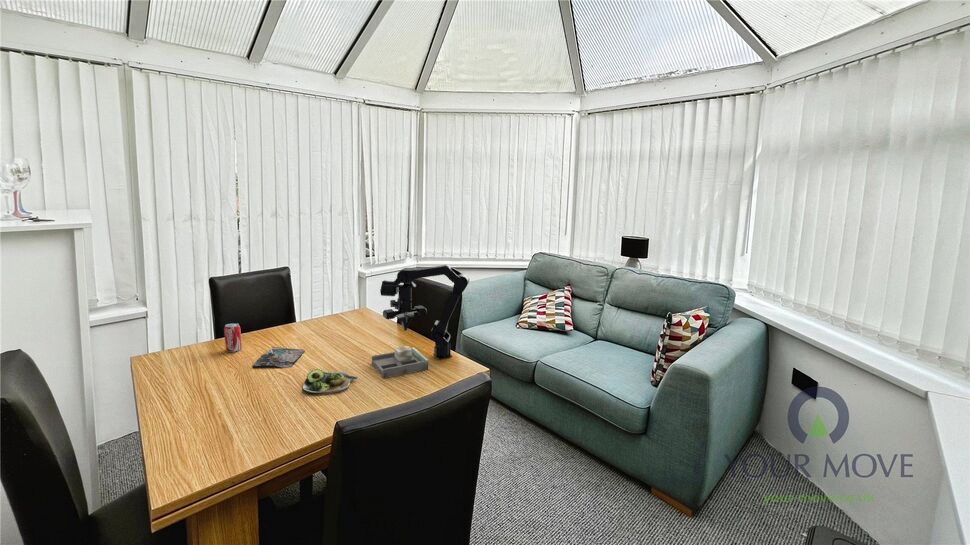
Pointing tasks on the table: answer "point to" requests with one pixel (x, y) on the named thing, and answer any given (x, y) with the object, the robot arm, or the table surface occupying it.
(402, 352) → the cream block
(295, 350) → the terrain model
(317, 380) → the salad plate
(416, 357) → the box
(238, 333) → the soda can
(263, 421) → the table surface
